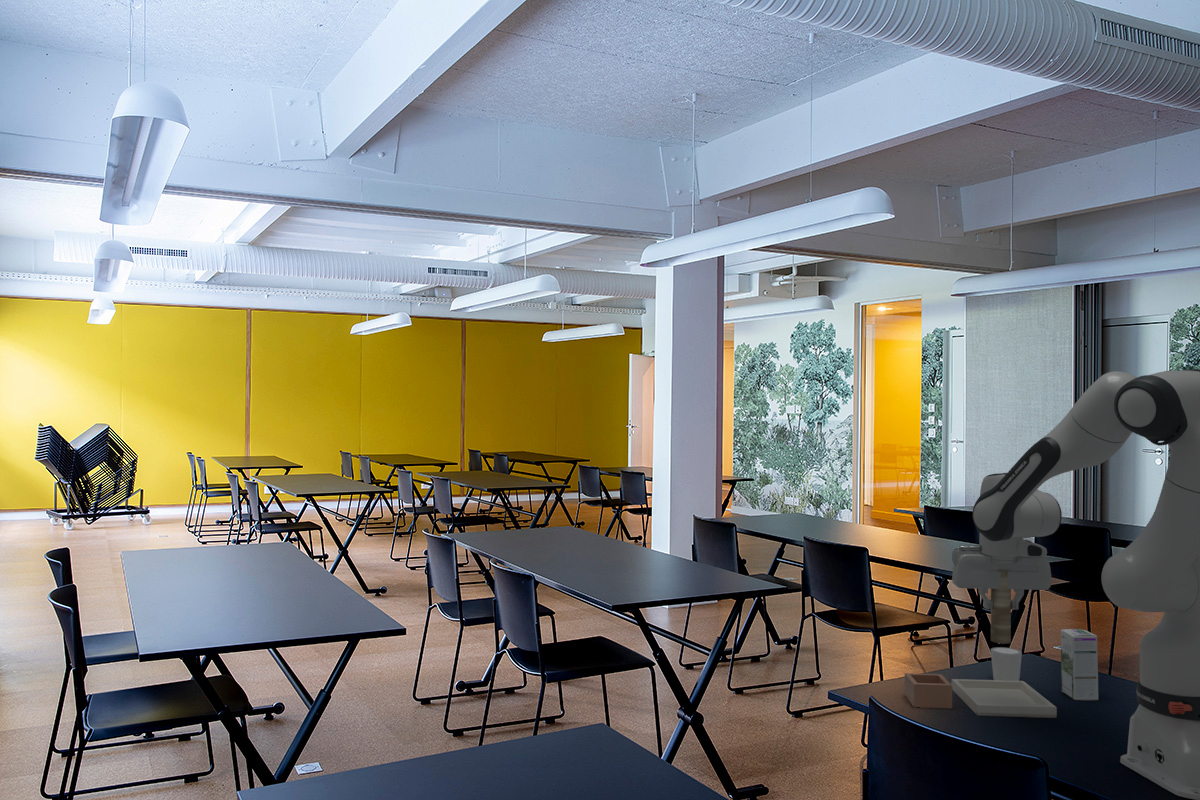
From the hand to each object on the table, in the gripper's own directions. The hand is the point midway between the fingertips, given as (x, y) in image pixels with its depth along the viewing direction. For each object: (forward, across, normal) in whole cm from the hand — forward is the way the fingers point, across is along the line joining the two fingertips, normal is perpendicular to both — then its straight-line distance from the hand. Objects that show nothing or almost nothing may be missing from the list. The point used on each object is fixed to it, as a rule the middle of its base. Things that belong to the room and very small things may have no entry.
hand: (1000, 608), depth 196 cm
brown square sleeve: (+21, -16, -1) cm, 26 cm away
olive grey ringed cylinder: (+7, 0, 0) cm, 7 cm away
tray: (+20, 0, 0) cm, 21 cm away
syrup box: (+21, +19, +6) cm, 29 cm away
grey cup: (+21, +7, +17) cm, 28 cm away
